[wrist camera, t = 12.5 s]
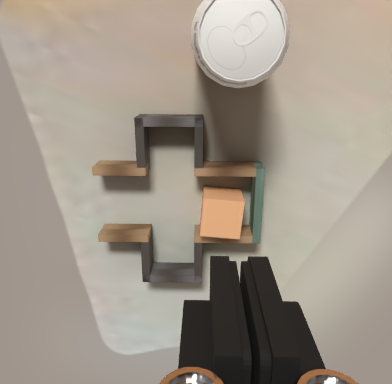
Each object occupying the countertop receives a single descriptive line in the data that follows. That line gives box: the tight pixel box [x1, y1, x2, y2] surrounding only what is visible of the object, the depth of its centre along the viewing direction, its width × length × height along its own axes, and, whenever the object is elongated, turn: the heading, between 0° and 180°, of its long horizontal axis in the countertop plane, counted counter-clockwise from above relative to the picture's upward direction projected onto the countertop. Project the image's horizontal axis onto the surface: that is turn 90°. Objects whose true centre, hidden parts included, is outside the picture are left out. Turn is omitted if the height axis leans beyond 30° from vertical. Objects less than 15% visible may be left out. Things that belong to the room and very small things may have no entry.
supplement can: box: [191, 0, 290, 88], centre depth 36 cm, size 8×8×15 cm
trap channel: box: [92, 114, 265, 283], centre depth 48 cm, size 21×22×4 cm
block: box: [200, 186, 245, 239], centre depth 47 cm, size 5×5×5 cm
